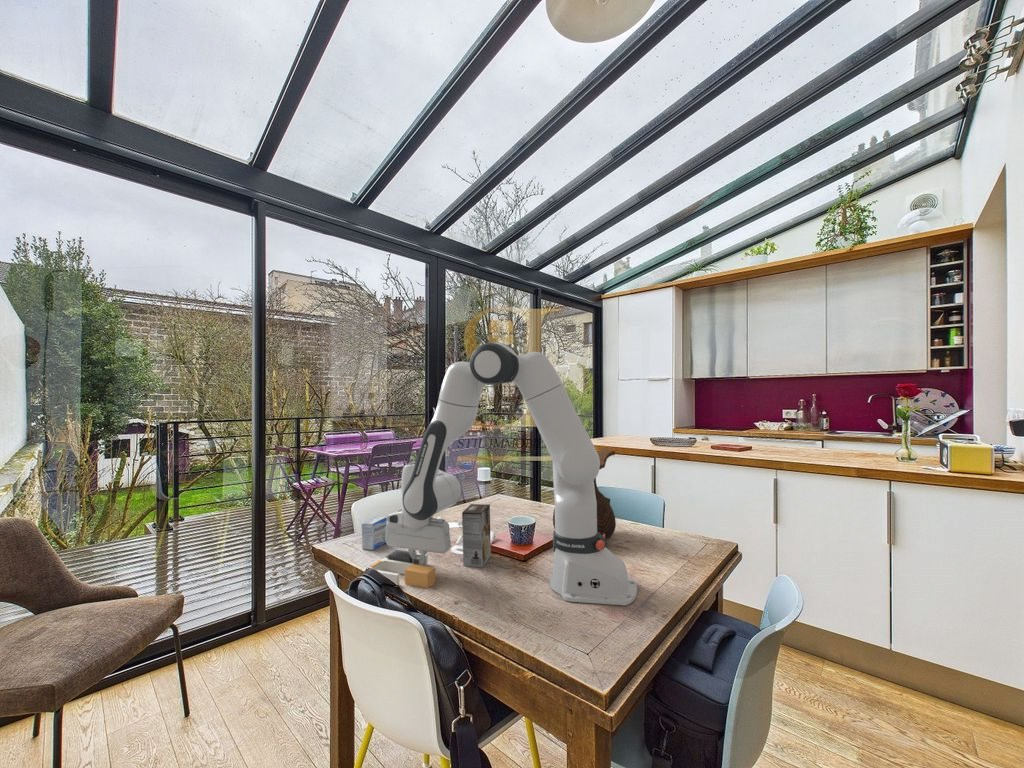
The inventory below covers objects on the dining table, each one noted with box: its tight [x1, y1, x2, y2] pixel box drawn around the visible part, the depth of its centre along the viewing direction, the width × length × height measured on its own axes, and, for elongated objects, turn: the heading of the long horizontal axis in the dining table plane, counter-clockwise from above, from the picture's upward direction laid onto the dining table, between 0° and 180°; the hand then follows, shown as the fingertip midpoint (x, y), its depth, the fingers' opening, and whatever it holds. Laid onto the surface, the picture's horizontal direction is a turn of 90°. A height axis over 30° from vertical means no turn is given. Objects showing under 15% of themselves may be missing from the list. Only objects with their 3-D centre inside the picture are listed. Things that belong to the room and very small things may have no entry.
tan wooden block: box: [404, 564, 436, 589], centre depth 119 cm, size 7×4×4 cm, turn 69°
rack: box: [364, 552, 429, 586], centre depth 126 cm, size 10×15×3 cm
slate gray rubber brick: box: [388, 549, 418, 563], centre depth 130 cm, size 7×4×4 cm, turn 69°
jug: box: [552, 447, 617, 542], centre depth 150 cm, size 22×22×30 cm
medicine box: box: [361, 516, 388, 551], centre depth 147 cm, size 8×4×9 cm, turn 161°
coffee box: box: [461, 503, 492, 568], centre depth 134 cm, size 9×6×16 cm
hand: (418, 564), depth 128 cm, fingers closed
